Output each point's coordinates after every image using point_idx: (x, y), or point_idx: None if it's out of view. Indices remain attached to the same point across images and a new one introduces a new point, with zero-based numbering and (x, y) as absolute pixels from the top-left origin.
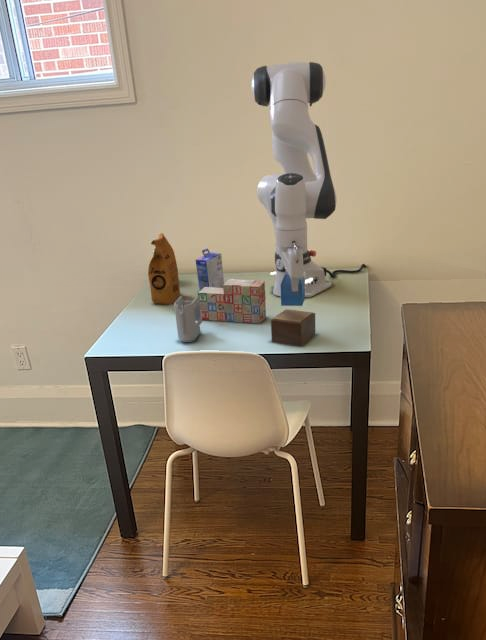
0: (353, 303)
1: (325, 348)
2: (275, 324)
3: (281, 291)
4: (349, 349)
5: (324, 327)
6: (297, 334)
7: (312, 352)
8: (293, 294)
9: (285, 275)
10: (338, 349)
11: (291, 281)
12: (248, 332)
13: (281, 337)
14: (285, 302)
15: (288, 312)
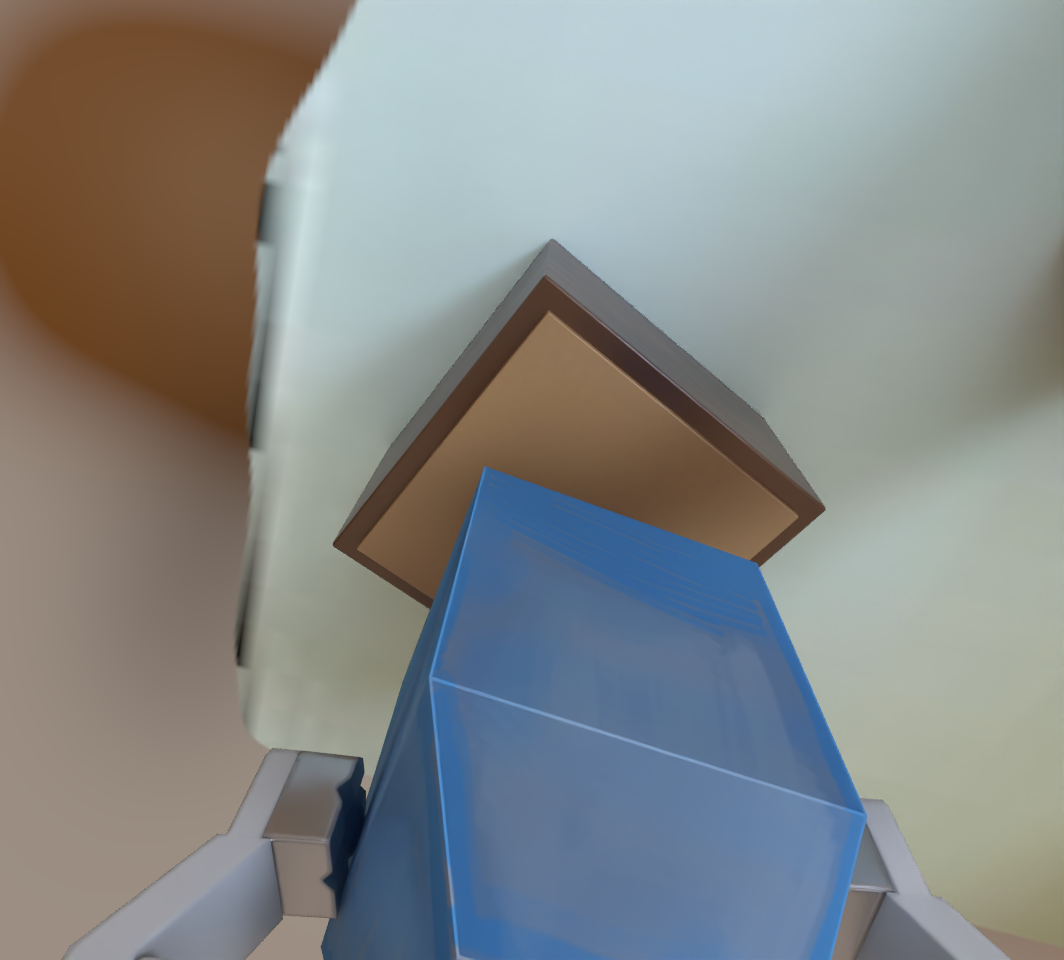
0: (1037, 907)
1: (323, 587)
2: (508, 312)
3: (447, 596)
4: (282, 699)
5: None
6: (380, 468)
7: (265, 495)
8: (399, 713)
9: (449, 954)
10: (292, 649)
11: (150, 920)
12: (908, 38)
13: (483, 331)
14: (459, 541)
15: (680, 510)
